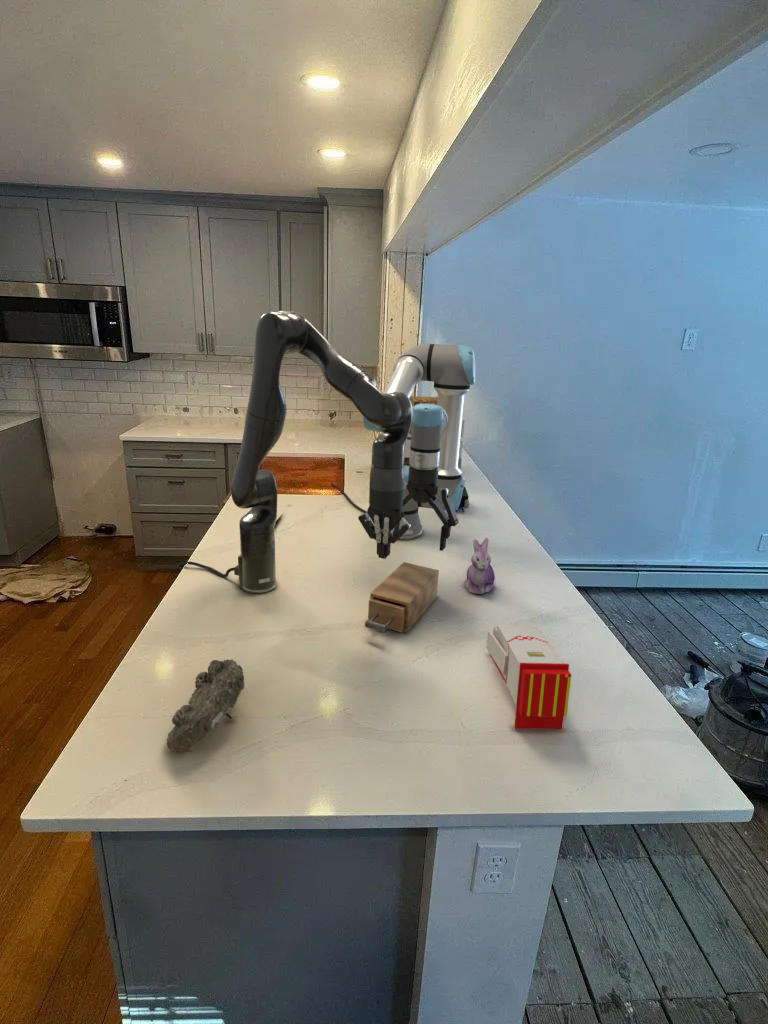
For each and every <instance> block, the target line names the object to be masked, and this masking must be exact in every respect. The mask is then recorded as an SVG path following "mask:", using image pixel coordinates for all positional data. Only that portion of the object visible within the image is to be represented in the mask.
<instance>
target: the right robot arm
mask: <svg viewBox="0 0 768 1024" xmlns="http://www.w3.org/2000/svg"><path fill="white" fill-rule="evenodd" d="M392 371H393V373H392V375H391V377H390V379H389V380H388V383H387V385H386V387H385V388H384V391H382V393H384V394H386V393H391V392H402V393H404V394H405V395H407V396H408V398H410V396H412V394H413V392H414V389H415V387H416V385H417V384H419V383H420V382H432V383H433V389H434V390H435V391H436V393H437V396H436V397H437V405H435V404H417V405H415V406H412V411H413V414H412V421H411V426H410V430H409V434H411V446H410V460H409V464H410V465H411V466H404V491H403V506H402V511H403V514H404V519H405V520H406V521H407V522H411V523H412V527H411V528H410V529H409V530H408V531H407V532H406V533H405V534H404V535H403V536H402V537H401V538H400V539H399V540H398V541H410V540H415V539H418V538H420V537H421V536H422V535H423V525H422V524H421V518H420V515H419V508H422V509H430V510H431V509H433V511H434V512H435V514H436V516H437V517H438V518H439V520H440V521H441V523H442V524H443V525H441V528H440V539H439V551H441V552H443V551H444V550H445V549H446V547H447V539H449V538H450V537H451V532H452V527H456V526H457V525H458V524H459V522H460V520H459V518H458V516H457V512H456V511H455V510H457V511H458V507H459V505H460V501H461V497H462V493H463V489H464V487H465V484H466V478H465V477H464V476H462V475H463V474H462V469H461V470H460V469H459V468H458V458H459V448H460V439H461V438H460V437H461V426H462V419H463V414H464V403H465V395H466V394H467V393H468V392H469V391H470V388H471V386H472V385H475V383H476V356H475V351H474V349H473V347H471V346H467V345H461V344H443V343H442V344H441V343H439V344H438V343H421V344H418V345H415V346H412V347H411V348H409V349H407V350H406V351H404V352H402V354H400V356H398V358H397V359H396V361H395V362H394V365H393V369H392ZM362 419H363V420H362V421H363V423H362V424H363V427H364V429H366V430H367V431H371V432H377V433H381V430H382V428H378V427H376V426H374V425H373V424H371V423H370V422H368V421H367V420H366V419H365V417H364V416H363V415H362ZM330 486H332V487H333V488H335V489H336V490H338V491H339V492H340V493H341V494H342V495H343V496H344V497H345V498H346V500H347V501H348V503H350V504H351V505H352V506H353V507H355V508H356V509H357V510H359V511H360V512H362V513H366V512H367V510H365V509H363V508H362V507H359V506H358V505H357V504H356V503H354V501H352V500H351V498H350V497H349V496H348V495H347V493H346V492H345V491H344V490H343V489H341V488H340V487H339V486H337V485H336V484H333V483H331V482H330ZM399 526H400V522H399V524H398V525H397V526H396V527H395V528H394V532H393V536H394V535H395V534H396V533H397V532H398V531H399V530H400V528H399Z"/></svg>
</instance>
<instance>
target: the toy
mask: <svg viewBox="0 0 768 1024" xmlns="http://www.w3.org/2000/svg"><path fill="white" fill-rule="evenodd" d="M486 636H487V637H486V638H487V639H486V644H485V645H486V646H485V649H486V650H487V652H488V653H489V656H490V658H491V660H492V661H493V663H494V665H495V667H496V669H497V670H498V672H499V674H500V676H501V678H502V679H503V681H504V683H505V684H506V687H507V689H508V691H509V694H510V696H511V698H512V700H513V702H514V704H515V715H514V730H563V723H564V717H565V718H566V717H567V716H568V709H569V699H570V692H571V691H570V690H571V682H572V681H571V680H572V673H571V671H569V670H570V669H569V668H570V664H569V663H564V662H563V661H562V659H561V658H560V657H559V655H558V654H557V652H556V651H555V650H554V648H553V647H552V646H551V644H550V643H549V641H548V640H547V638H546V637H545V636H544V634H543V633H542V631H541V630H540V629H539V628H538V626H537V625H536V624H498V623H497V625H496V626H493V631H492V630H488V631H487V635H486Z"/></svg>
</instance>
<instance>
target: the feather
mask: <svg viewBox="0 0 768 1024" xmlns="http://www.w3.org/2000/svg"><path fill="white" fill-rule="evenodd" d="M283 515H284V513H282V514H281V515H280V516H279V517H278V518H277V519H276V521H275V529H276V528H277V526H278V525H279V522H280V520H281V519H282V517H283Z"/></svg>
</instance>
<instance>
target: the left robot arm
mask: <svg viewBox="0 0 768 1024" xmlns="http://www.w3.org/2000/svg"><path fill="white" fill-rule="evenodd" d="M255 330H256V331H255V337H254V353H253V354H254V355H253V369H252V378H251V382H250V383H251V384H250V391H249V398H248V403H247V407H246V413H245V418H244V419H245V420H244V426H243V433H242V440H241V443H240V449H239V453H238V457H237V461H236V464H235V468H234V471H233V475H232V477H231V484H230V495H231V499H232V502H233V503H234V505H235V506H236V507H237V508H239V509H242V510H243V509H250V510H249V511H248V512H246V513H245V514H244V515H243V516H242V517H241V518H240V520H239V522H238V523H239V524H238V525H239V543H240V554H239V555H238V556H237V565H236V566H234V567H230V568H228V569H227V570H226V572H225V573H222V572H221V571H219V570H216V569H215V568H213V567H211V566H208V565H205V564H201V563H199V562H196V561H185V562H184V561H183V562H181V563H180V564H179V565H178V568H183V567H184V566H186V564H187V563H188V564H187V566H189V565H192V566H196V567H199V568H201V569H205V570H208V571H211V572H212V573H214V574H216V575H218V576H219V577H221V578H227V577H228V576H229V574H230V572H233V574H234V576H238V584H239V586H238V588H239V589H242V590H243V591H245V592H247V593H251V594H264V593H268V592H270V591H273V590H274V589H275V588H276V587H277V577H276V576H277V574H276V573H277V569H276V566H277V565H276V537H275V536H276V534H275V533H276V532H275V529H276V528H275V524H276V523H275V522H276V521H277V519H278V518H277V517H278V483H277V480H276V477H275V476H274V474H273V473H272V472H271V470H268V469H265V468H264V469H263V468H261V469H260V467H261V465H262V463H263V461H264V460H265V459H266V457H267V456H268V454H269V453H270V452H271V451H272V449H273V448H274V447H275V446H276V444H277V443H278V441H279V440H280V438H281V436H282V433H283V429H284V426H285V421H286V416H287V401H286V399H285V395H284V392H283V389H282V385H281V384H280V381H281V380H280V375H281V374H280V373H281V368H282V363H283V359H284V356H285V355H290V354H294V353H297V354H300V355H301V356H304V357H306V358H308V359H309V360H311V361H312V362H313V363H314V364H316V366H317V367H318V368H319V370H320V372H321V374H322V376H323V378H324V379H325V381H326V383H328V385H329V386H330V387H331V388H333V390H334V391H336V392H338V393H339V394H340V395H341V396H343V397H344V398H345V399H347V400H348V401H349V402H350V403H352V404H353V405H354V407H355V408H356V409H357V411H358V412H359V413H360V414H361V415H362V417H363V416H364V417H365V419H366V420H367V421H368V422H370V423H371V424H373V425H374V426H376V427H378V428H382V430H381V432H380V434H379V435H378V436H377V437H376V438H375V439H374V440H373V442H372V447H371V467H370V473H369V493H368V508H367V510H366V511H367V512H366V513H364V512H362V514H360V515H358V517H357V519H358V521H359V522H360V524H361V526H362V527H363V529H364V531H365V532H366V534H367V536H368V537H369V539H373V540H375V541H376V555H377V556H378V558H379V559H382V560H385V559H387V558H388V557H389V556H390V554H391V547H392V544H395V543H396V542H397V541H400V540H399V539H400V538H401V537H402V536H403V535H404V534H405V533H406V532H407V531H408V530H409V529H410V528H411V527H412V523H411V522H407V521H406V520H405V519H404V514H403V511H402V506H403V491H404V467H405V465H404V448H405V443H406V440H407V437H408V434H409V430H410V426H411V421H412V414H413V411H412V404H411V401H410V399H409V398H408V396H407V395H405V394H404V393H402V392H391V393H386V394H384V393H383V391H381V390H380V389H379V388H378V387H377V385H378V384H377V380H376V379H375V378H374V377H373V376H372V375H371V374H370V373H369V372H368V371H366V370H365V369H363V368H362V367H360V365H357V363H355V362H354V361H352V360H351V359H350V358H349V357H347V356H345V355H344V354H343V353H342V352H341V351H340V350H338V349H337V348H336V347H335V346H334V345H333V344H332V343H331V342H330V341H329V340H328V339H327V338H326V337H325V336H324V335H323V334H322V333H321V332H320V331H319V330H318V329H317V328H316V327H315V326H314V325H313V324H312V323H311V322H310V321H309V320H308V319H307V318H306V317H305V316H304V315H302V314H301V313H300V312H299V311H295V310H273V311H268V312H265V313H263V314H262V315H261V316H260V318H259V320H258V322H257V325H256V329H255ZM399 522H400V526H399V528H400V530H399V531H398V532H397V533H396V534H395V535H394V536H393V532H394V528H395V527H396V526H397V525H398V524H399Z"/></svg>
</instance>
